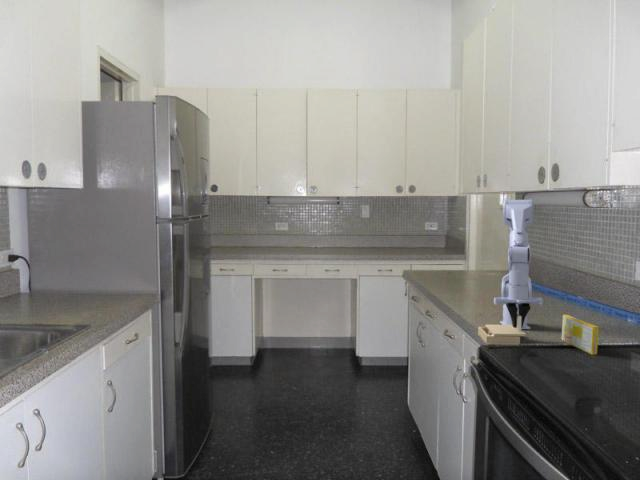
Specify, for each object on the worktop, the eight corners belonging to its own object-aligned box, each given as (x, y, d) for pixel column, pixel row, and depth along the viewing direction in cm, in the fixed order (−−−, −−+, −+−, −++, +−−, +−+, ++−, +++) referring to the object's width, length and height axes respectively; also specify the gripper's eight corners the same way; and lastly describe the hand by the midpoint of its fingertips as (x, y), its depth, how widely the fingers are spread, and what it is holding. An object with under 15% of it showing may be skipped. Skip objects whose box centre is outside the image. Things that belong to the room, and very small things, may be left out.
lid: (485, 326, 179) (485, 310, 179) (515, 326, 179) (515, 310, 178) (494, 335, 168) (494, 318, 167) (526, 335, 167) (526, 319, 167)
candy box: (598, 355, 157) (599, 326, 156) (591, 355, 157) (592, 326, 156) (567, 339, 173) (568, 314, 172) (560, 340, 173) (561, 314, 172)
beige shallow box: (478, 334, 180) (478, 326, 180) (509, 334, 179) (509, 327, 179) (486, 344, 168) (486, 336, 168) (519, 345, 167) (520, 336, 167)
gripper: (498, 286, 168) (497, 329, 169) (546, 286, 167) (545, 330, 168) (492, 282, 175) (491, 324, 176) (539, 282, 174) (538, 324, 175)
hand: (517, 327), depth 173 cm, fingers closed on lid
